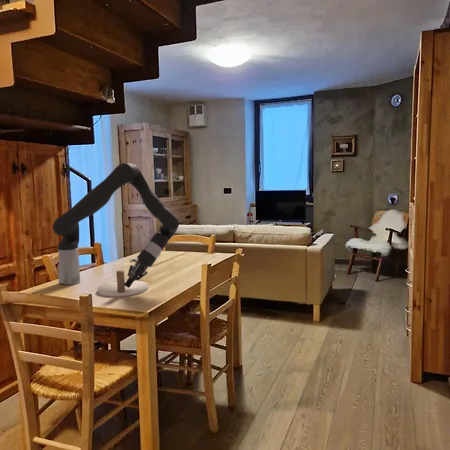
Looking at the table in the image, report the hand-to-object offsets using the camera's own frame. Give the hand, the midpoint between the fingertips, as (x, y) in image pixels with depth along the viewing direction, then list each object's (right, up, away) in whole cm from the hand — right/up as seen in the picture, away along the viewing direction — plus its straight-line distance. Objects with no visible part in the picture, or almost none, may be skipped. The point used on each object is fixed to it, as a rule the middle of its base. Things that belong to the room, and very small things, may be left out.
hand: (126, 286), depth 177 cm
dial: (-3, -3, +8) cm, 9 cm away
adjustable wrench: (-8, +4, +85) cm, 86 cm away
